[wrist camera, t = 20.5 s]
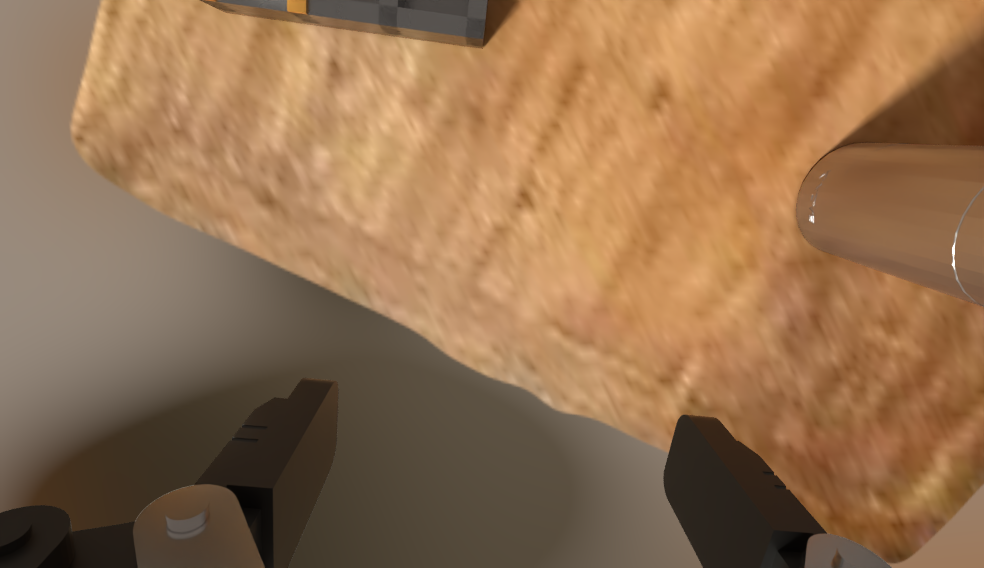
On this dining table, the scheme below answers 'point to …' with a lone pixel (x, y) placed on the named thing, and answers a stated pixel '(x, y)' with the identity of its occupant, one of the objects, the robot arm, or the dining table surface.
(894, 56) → the dining table surface
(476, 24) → the slot rack
